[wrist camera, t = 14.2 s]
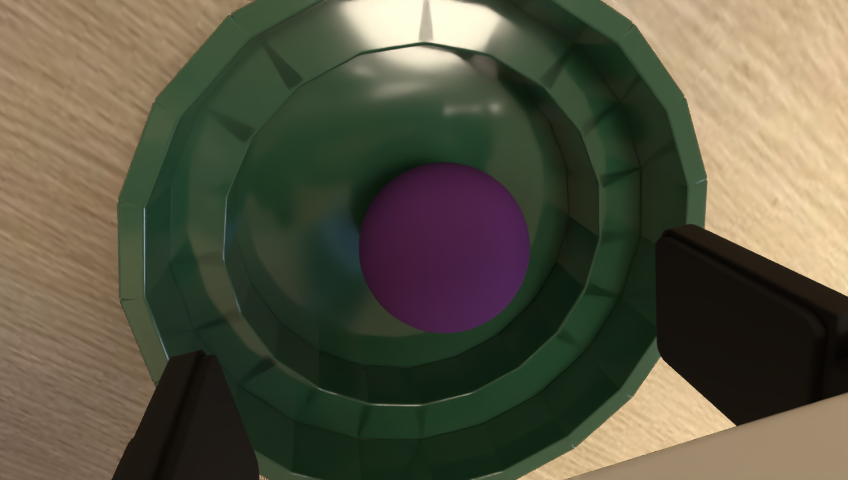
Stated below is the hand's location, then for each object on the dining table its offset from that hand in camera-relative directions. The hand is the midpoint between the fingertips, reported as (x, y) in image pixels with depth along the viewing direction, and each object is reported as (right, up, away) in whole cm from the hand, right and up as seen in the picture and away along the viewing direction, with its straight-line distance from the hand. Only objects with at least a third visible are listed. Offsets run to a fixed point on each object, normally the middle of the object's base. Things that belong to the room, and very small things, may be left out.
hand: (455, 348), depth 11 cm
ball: (0, +2, +5) cm, 5 cm away
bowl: (-1, +3, +7) cm, 8 cm away
